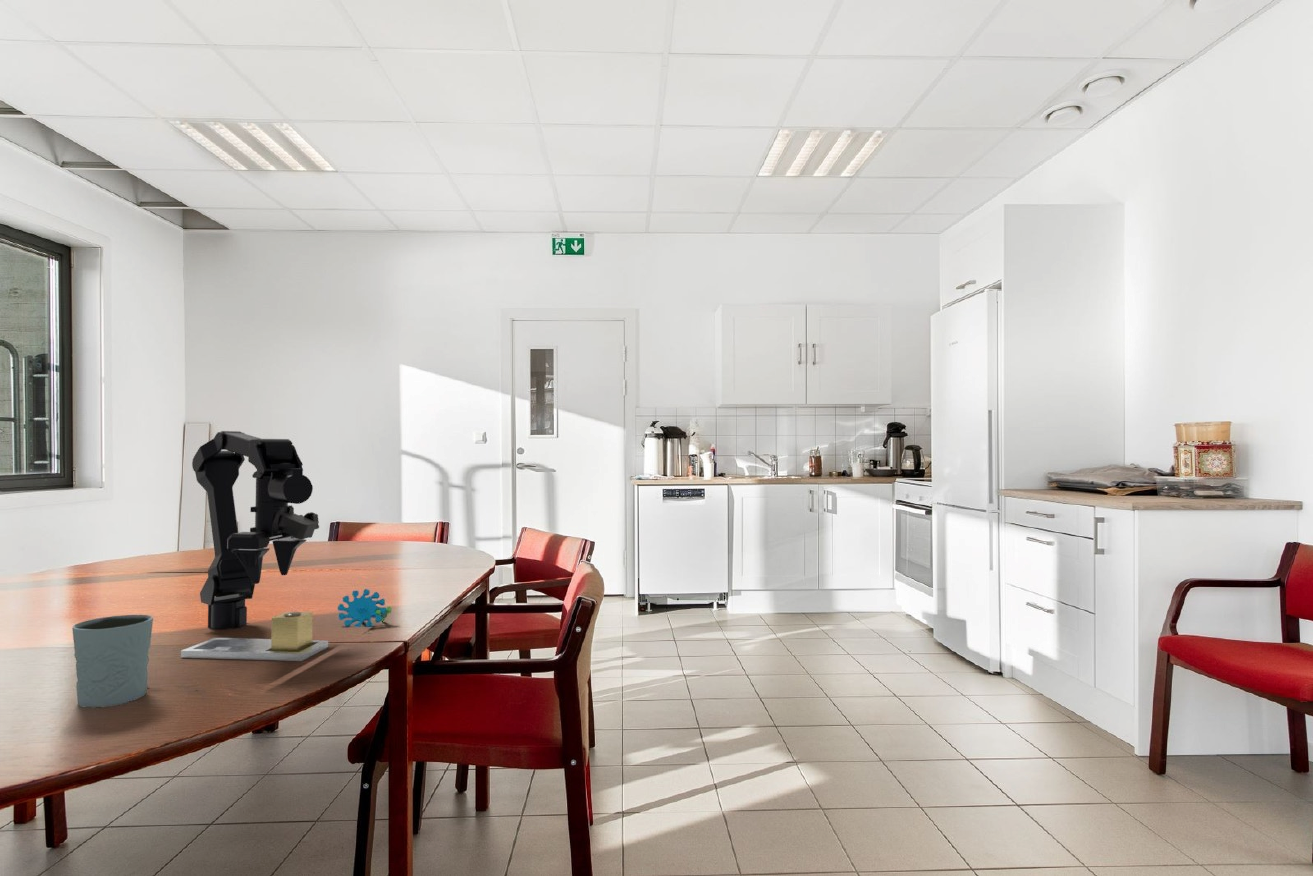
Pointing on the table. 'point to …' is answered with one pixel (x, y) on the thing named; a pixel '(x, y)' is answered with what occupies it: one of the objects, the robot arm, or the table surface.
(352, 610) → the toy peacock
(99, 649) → the embossed vase
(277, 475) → the robot arm
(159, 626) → the table surface
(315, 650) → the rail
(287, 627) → the block
